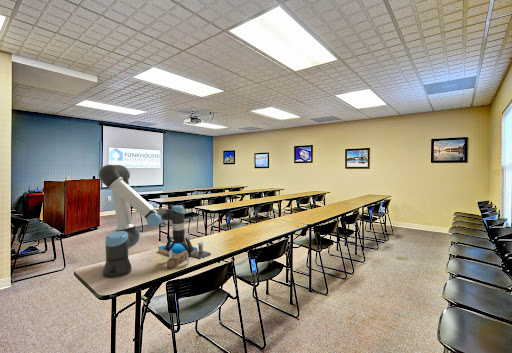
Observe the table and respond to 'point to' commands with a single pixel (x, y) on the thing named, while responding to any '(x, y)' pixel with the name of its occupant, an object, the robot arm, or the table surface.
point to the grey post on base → (200, 252)
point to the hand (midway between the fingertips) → (179, 261)
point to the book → (175, 249)
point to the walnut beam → (177, 260)
